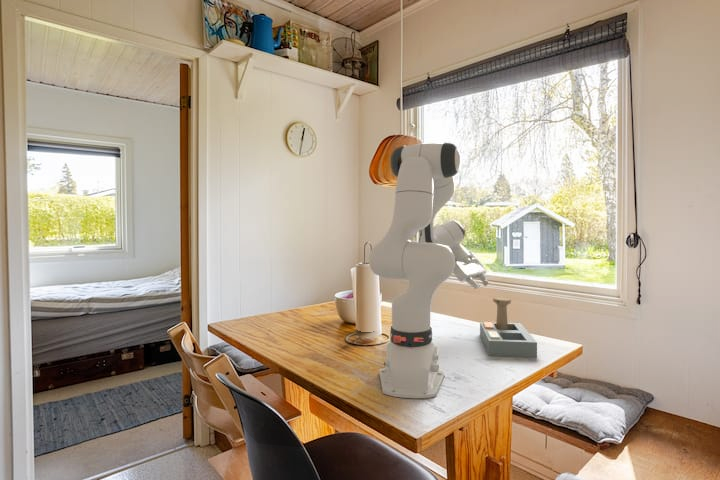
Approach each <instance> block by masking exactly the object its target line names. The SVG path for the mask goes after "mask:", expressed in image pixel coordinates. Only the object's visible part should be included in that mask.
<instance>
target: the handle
mask: <svg viewBox="0 0 720 480" xmlns="http://www.w3.org/2000/svg"><path fill="white" fill-rule="evenodd" d="M492 301H493V302H494V303H495V304H496V320H495V321H496V328H497V330H507V323H508V311H507V310H508V306H509V305H510V304H511V302H512V299H511V298H507V297H500V296H497V297H493V298H492Z"/></svg>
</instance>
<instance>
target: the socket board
mask: <svg viewBox="0 0 720 480" xmlns="http://www.w3.org/2000/svg"><path fill="white" fill-rule="evenodd" d="M479 335H480V338H481V340H482V342H483V345H484V348H485V350H486V353H487V355H488V356H490V357H491V356H492V357H509V358H510V357H514V358H536V359H537V358H538V342H537V340H535V338H534V337H533V336H532V334H530V332H529V331H528V330H527V328H525V326H524V325H523V324H522V323H521V322H507V330H497V328H496V322H490V321H480V322H479Z"/></svg>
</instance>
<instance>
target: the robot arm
mask: <svg viewBox="0 0 720 480" xmlns="http://www.w3.org/2000/svg"><path fill="white" fill-rule="evenodd" d="M461 166H462V154H461V152H460V149H459V147H458V146H457V145H455V143H452V142H443V143H441V142H440V143H437V142H436V143H435V142H430V143H429V142H428V143H425V142H422V143H417V144H416V143H415V144H414V143H413V144H409V145H401V146H398V147H396V148H395V149H394V150H393V152H392V153H391V155H390V168H391V172H392V174H393V175H394V176H395V178H397V179H396V183H395V193H394V208H393V215H392V220H391V223H390V226H389V228H388V230H387V232H386V234H385V235H384V237H383V238H382V239H381V240H380V241H378V243H376V244H375V245H374V246H373V247H372V248H371V250H370V252H369V255H368V263H369V267H370V271H372V273H373V274H374V275H376V276H380V277H382V278H386V279H392V280H402V281H403V280H404V281H408V282H409V283H408V284H409V285H408V289H407V290H405V291H403V292H401V293H399V294H398V295H397V296H395V297H394V299H393V300H392V302H391V326H390V332H389V335H390V338H389V339H390V342H388V343H387V344H386V347H385V352H386V353H385V354H386V355H385V356H386V361H384V364H383V365H384V368H380V369H379V372H378V375H379V378H380V379H379V380H380V385H381V390H382V393H383V394H384V395H387V396H390V397H394V398H395V397H396V398H404V399H429V398H431V399H432V398H435V397H437V395H438V392H439V391H440V388H441V386H442V384H443V381H444V379H445V372H444V371H442V370H440V368H439V367H440V366H439V363H438V361H439V355H438V347H437V346H436V345H435V344H434V343H433V342H432V341H433V331H432V327H431V312H432V311H431V310H432V301H433V298H434V295H435V293H436V291H437V290H438V288H439V287H440V286H441V285H442V284H443V283H444V282H446V281H447V280H448V279H449V278H451V276H452V275H454V277H456V280H458V281H459V282H461V283H464V282H466V283H467V284H469V286H471V287H473V289H474V290H478V289H479V287H480V284H479V282H476V281H475V279H479V280H480V281H481V283H482V285H483V286H484V287H487V286H488V285H490V282H489V281H488V279H487V276H486V275H485V274H487V269H486V268H485V267H484V265H483V263H481V262H480V260H479V259H478V258H476V257H477V256H476V254H475V253H474V252H472V251H470V250H468V249H466V248H465V246H463V245H462V244H461V242H462V241H463V240H464V238H465V237H466V236H465V235H466V230H465V228H464V226H463V225H462V223H460V222H459V221H457V220H455V219H448V220H446V221H444V222H442V223H440V224H436V225H434V219H435V217H436V215H437V214H438V213H439V211H441V209H442V208H443V207H444V206H445V205H446V204H447V203H448V202H449V201H450V200H451V198H453V196H454V194H455V190H456V180H455V175H457V174H458V173H459V171H460V169H461ZM417 234H418V241H415V242H414V239H415V237H416V235H417Z"/></svg>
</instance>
